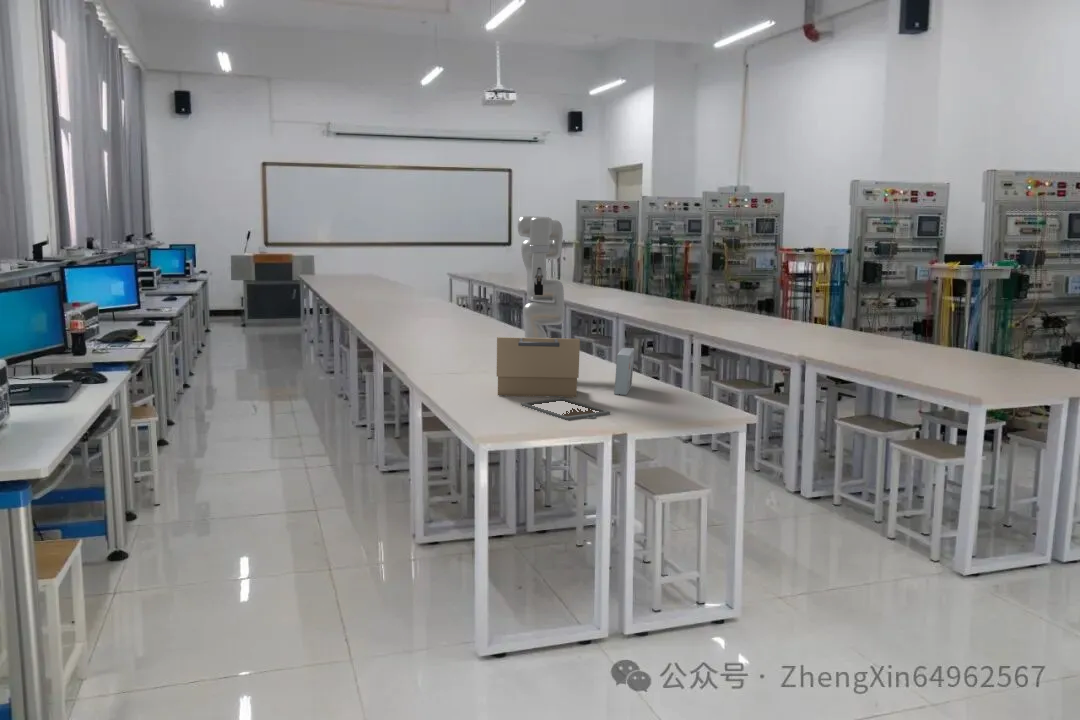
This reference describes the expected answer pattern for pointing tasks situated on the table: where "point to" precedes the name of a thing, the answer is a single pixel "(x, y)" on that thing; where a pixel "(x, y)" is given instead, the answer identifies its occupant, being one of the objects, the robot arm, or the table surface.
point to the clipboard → (571, 415)
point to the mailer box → (537, 386)
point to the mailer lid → (538, 357)
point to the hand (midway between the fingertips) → (538, 293)
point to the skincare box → (624, 371)
